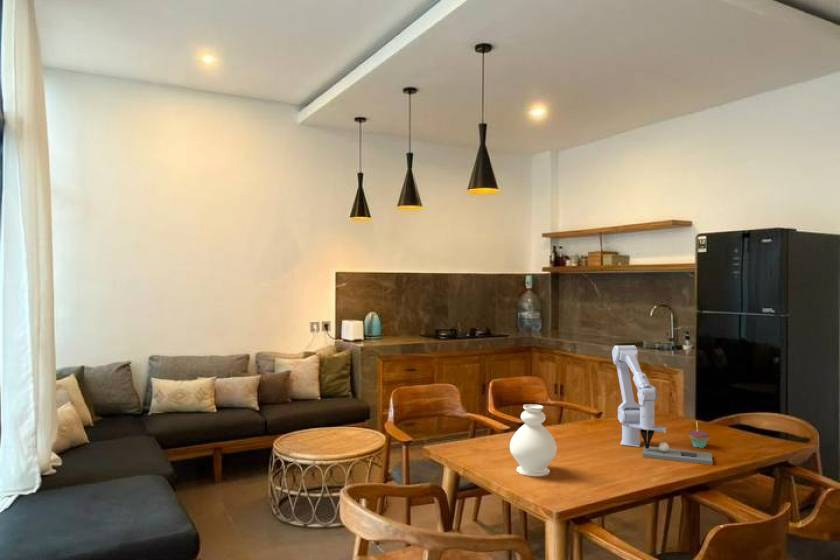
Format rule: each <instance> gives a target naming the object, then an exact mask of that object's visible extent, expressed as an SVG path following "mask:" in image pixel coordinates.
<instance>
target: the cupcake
mask: <svg viewBox="0 0 840 560" xmlns="http://www.w3.org/2000/svg"><path fill="white" fill-rule="evenodd" d="M698 423H699V422H698V421H697V419H696V420H695V425H696V426H695V428H696V430H695V429H693V430H691V431H689V433H688V439H690V440H691V443H692V446H693V447H694V448H697V447H699V448H698V449H703V448H704V447H705V448H706V445H707V443H708V442H709V441H710V434H709V433H708V432H706V431H705V430H702V429H699V424H698Z"/></svg>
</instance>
